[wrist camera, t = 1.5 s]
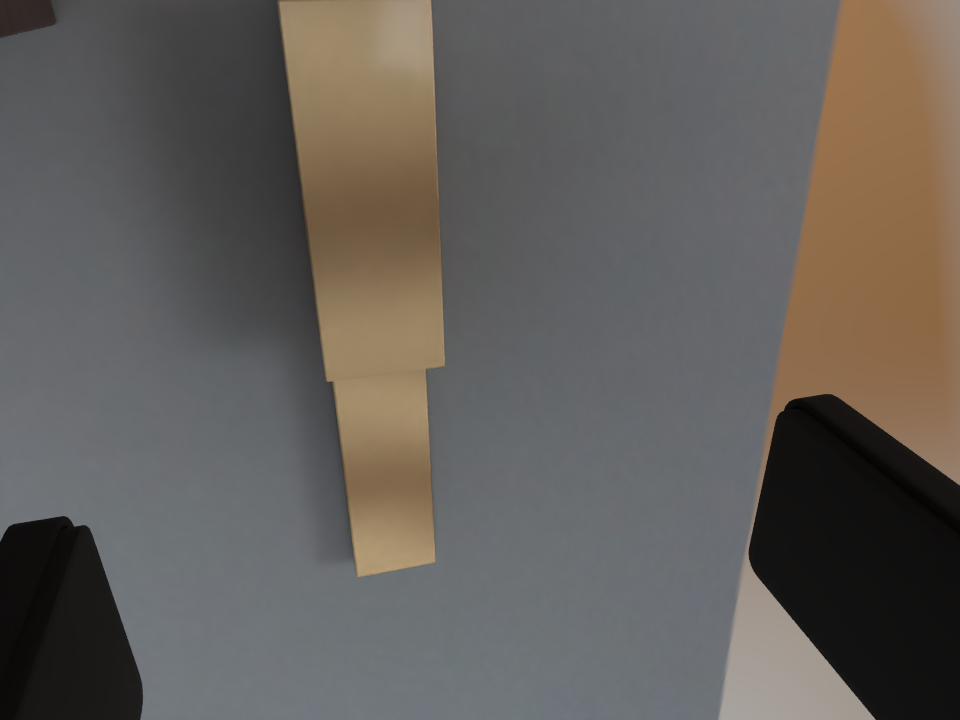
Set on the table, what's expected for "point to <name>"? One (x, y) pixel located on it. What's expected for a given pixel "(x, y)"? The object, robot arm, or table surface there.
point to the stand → (24, 16)
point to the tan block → (373, 251)
